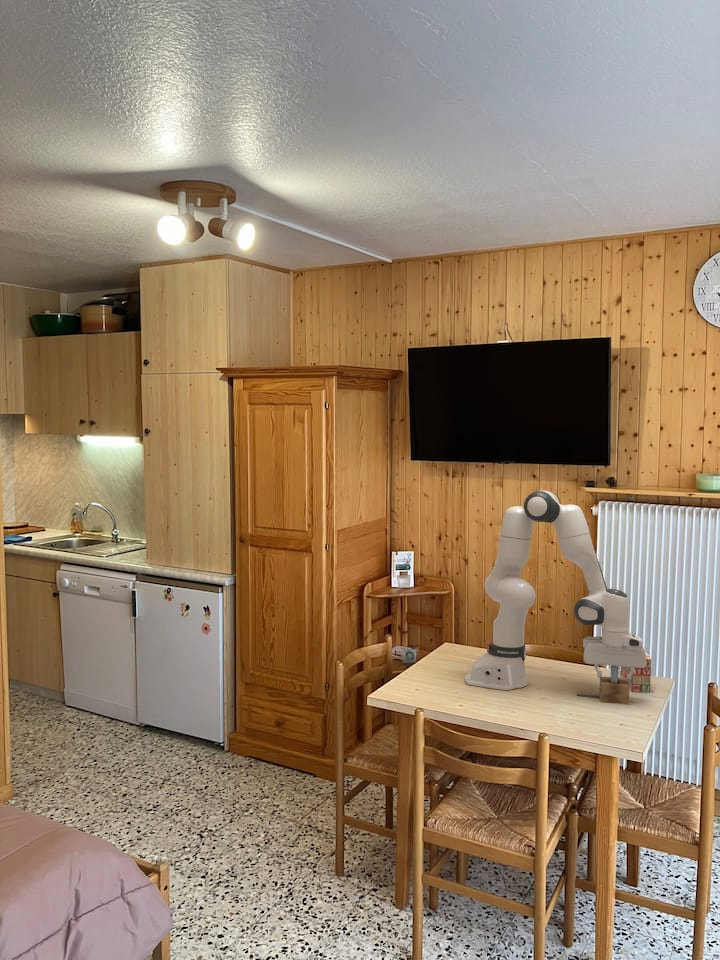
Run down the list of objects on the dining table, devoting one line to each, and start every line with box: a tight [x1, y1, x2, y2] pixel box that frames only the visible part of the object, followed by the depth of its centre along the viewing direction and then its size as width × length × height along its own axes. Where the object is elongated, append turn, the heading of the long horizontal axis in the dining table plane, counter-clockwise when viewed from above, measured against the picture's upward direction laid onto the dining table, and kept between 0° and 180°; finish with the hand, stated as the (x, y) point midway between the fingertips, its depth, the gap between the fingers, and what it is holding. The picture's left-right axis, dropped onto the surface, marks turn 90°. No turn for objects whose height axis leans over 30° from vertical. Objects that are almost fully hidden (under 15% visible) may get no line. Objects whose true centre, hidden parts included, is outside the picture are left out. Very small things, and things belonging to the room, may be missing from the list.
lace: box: [576, 693, 599, 699], centre depth 267 cm, size 7×1×1 cm, turn 75°
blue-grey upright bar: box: [610, 665, 619, 683], centre depth 264 cm, size 2×2×11 cm
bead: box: [599, 676, 630, 705], centre depth 264 cm, size 9×9×6 cm
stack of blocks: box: [620, 651, 652, 694], centre depth 281 cm, size 21×6×12 cm, turn 172°
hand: (614, 678), depth 264 cm, fingers open, 8 cm apart
